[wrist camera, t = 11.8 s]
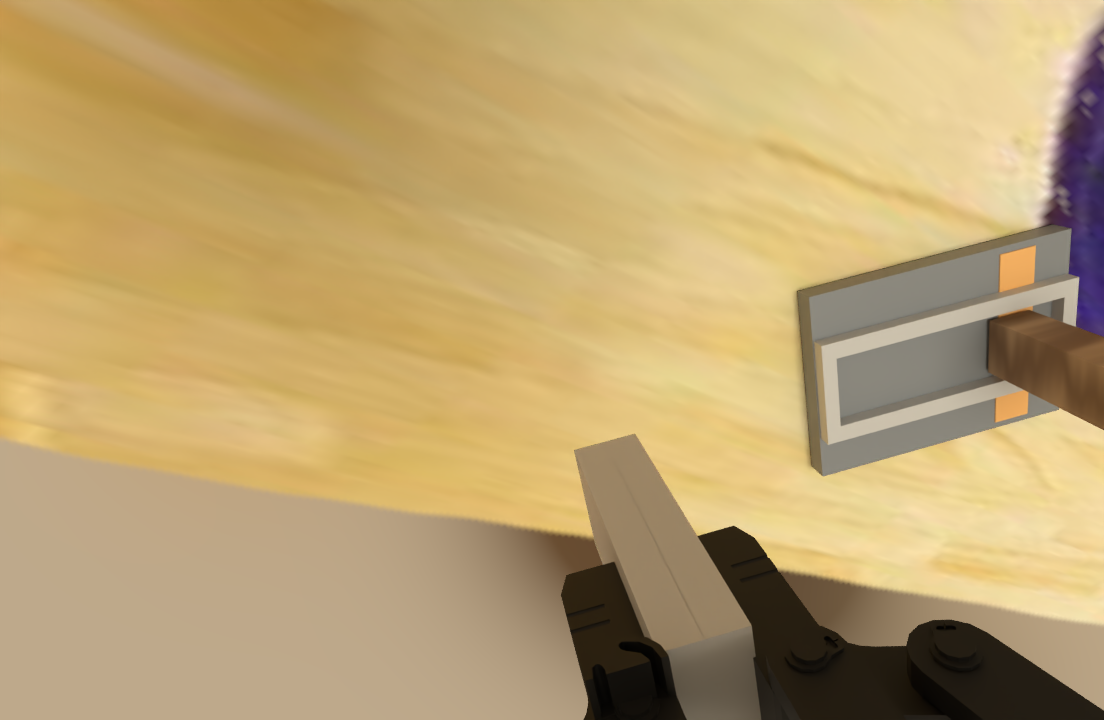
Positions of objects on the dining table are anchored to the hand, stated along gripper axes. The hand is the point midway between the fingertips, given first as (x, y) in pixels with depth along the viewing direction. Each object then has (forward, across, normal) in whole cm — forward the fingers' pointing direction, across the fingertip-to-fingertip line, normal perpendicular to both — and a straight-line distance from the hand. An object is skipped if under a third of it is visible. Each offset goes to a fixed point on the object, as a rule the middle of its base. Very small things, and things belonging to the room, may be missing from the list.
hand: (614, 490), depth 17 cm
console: (+29, +28, -15) cm, 44 cm away
